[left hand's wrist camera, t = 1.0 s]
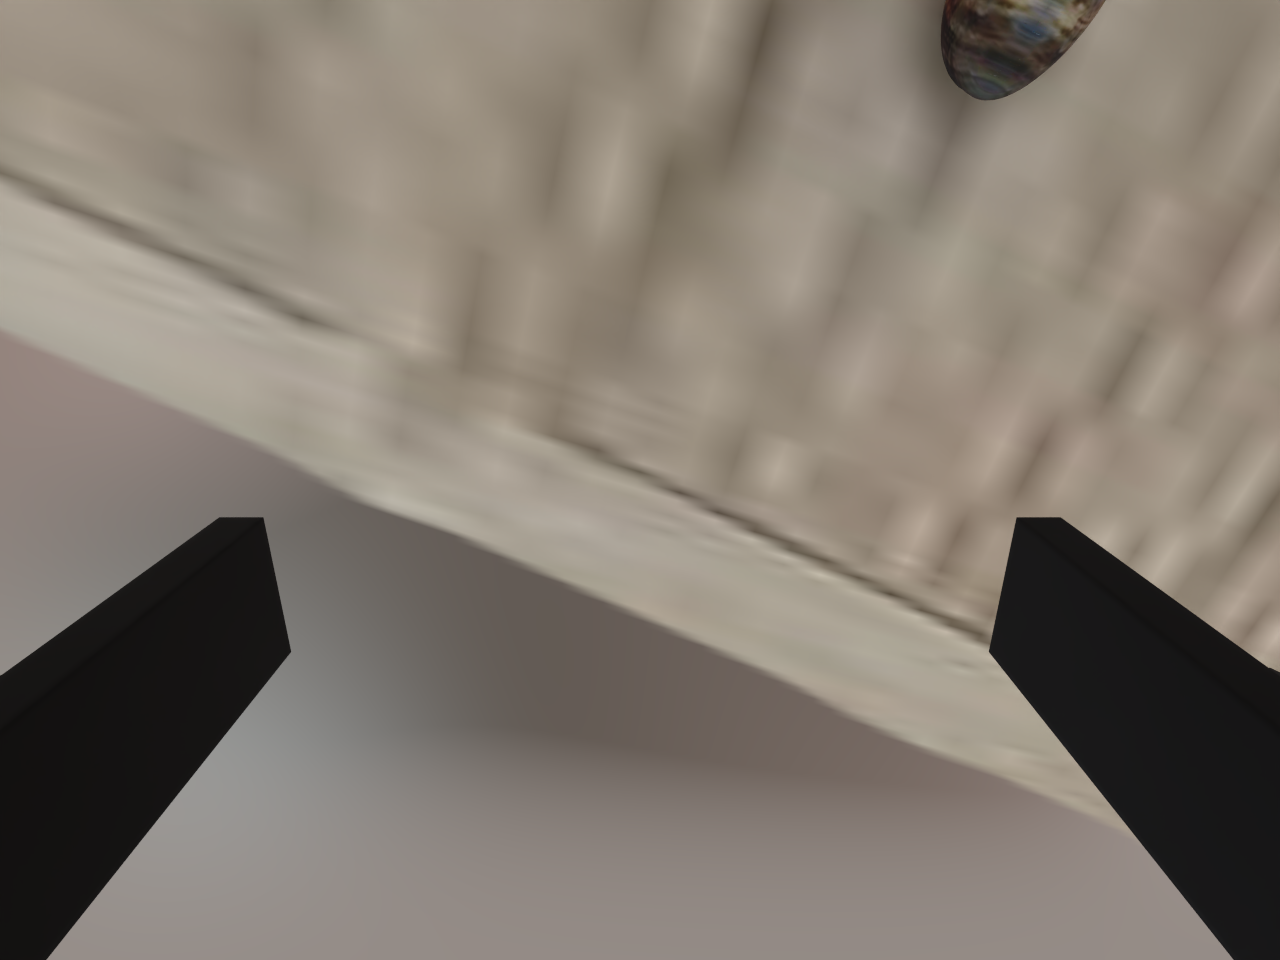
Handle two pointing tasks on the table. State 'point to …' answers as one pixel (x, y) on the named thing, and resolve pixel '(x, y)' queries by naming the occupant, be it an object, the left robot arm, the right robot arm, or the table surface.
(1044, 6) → the seashell
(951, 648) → the table surface
